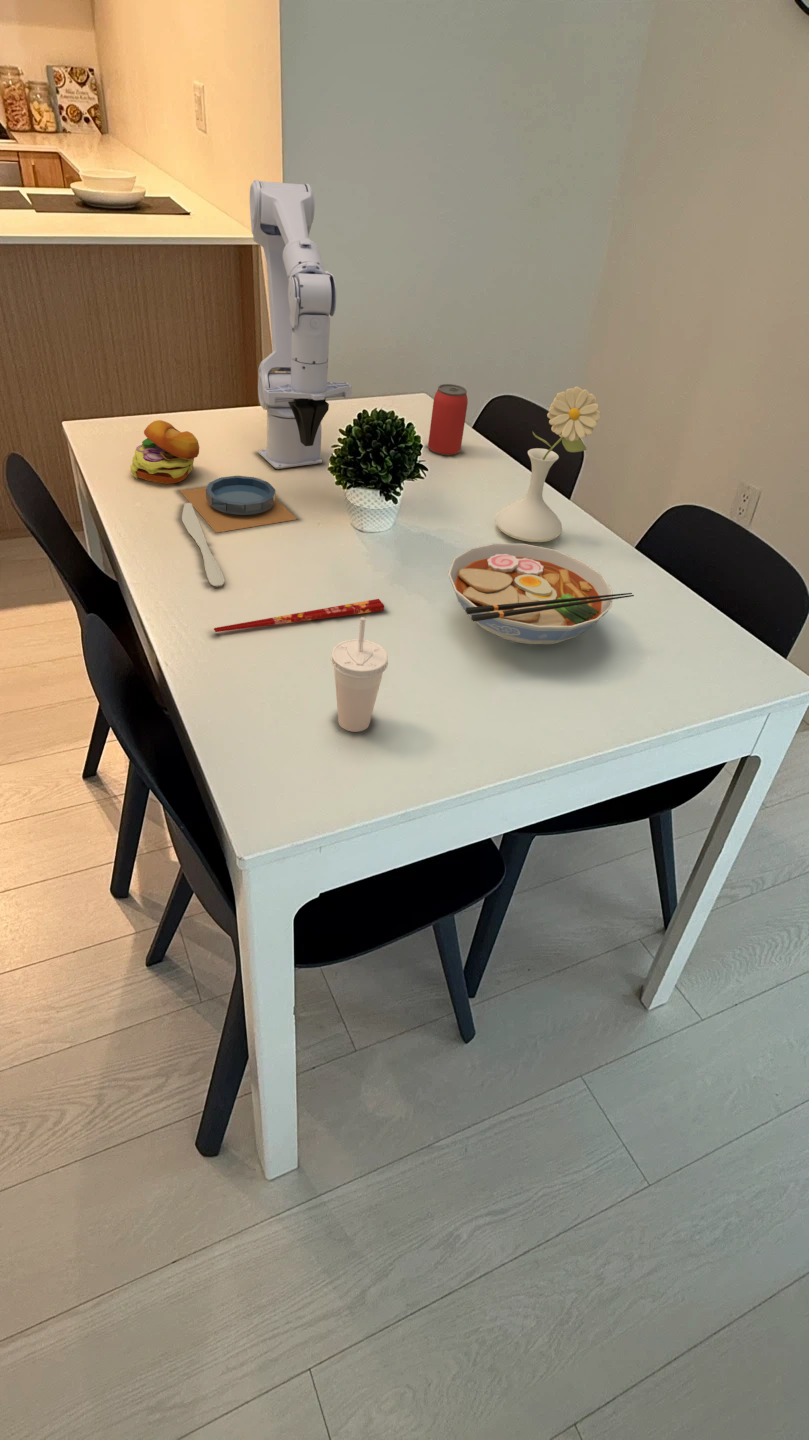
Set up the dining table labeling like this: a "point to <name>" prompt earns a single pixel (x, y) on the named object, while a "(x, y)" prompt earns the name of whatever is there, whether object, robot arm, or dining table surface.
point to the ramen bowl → (529, 592)
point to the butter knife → (202, 545)
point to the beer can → (448, 419)
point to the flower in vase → (531, 514)
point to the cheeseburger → (165, 454)
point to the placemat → (232, 521)
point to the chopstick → (312, 615)
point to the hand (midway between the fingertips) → (306, 443)
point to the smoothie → (357, 679)
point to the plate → (240, 495)
